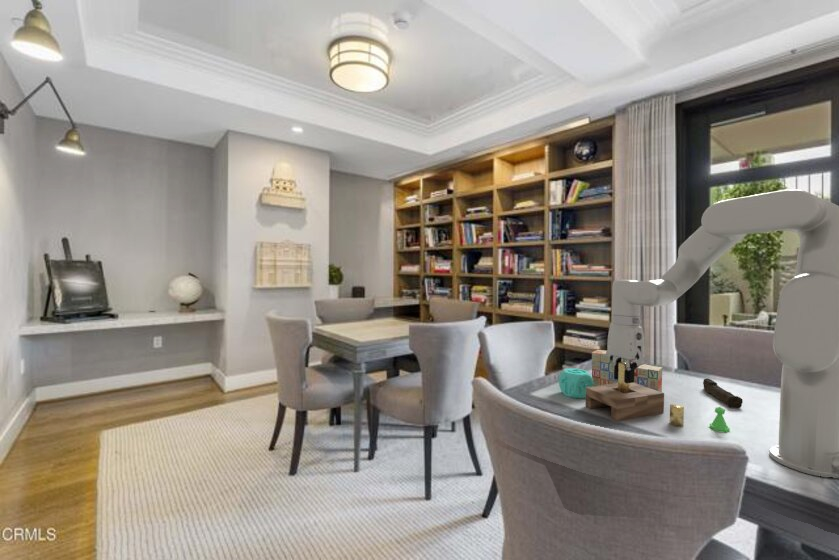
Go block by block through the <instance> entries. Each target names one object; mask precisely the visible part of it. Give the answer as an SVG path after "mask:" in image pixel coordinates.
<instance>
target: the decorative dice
mask: <svg viewBox="0 0 839 560" xmlns="http://www.w3.org/2000/svg"><path fill="white" fill-rule="evenodd" d="M558 386H559V389H560V390H561V392H562V394H563V395H565V396H566V397H569V398H571V399H572V398H573V399H586V387H592V386H595V385H594V382H593V379H592V374H590V372H588V371H587V370H586V369H585V370H584V369H582V368H576V367H575V368H565V369H564V370H562V372H561V373H560V375H559V377H558Z"/></svg>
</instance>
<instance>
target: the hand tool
mask: <svg viewBox="0 0 839 560" xmlns="http://www.w3.org/2000/svg"><path fill="white" fill-rule="evenodd" d="M702 384H703V390H704V392H706V393H707V394H708V395H712V396H714V397H715V398H717V399H718V400H720V401H722V402H723V403H725V404H726V406H727V408H729V409H741V408H742V405H743V403H744V402H743V401H744V400H743V398H741V397H740V396H738V395H734V394H733V393H732V392H729V391H727V390H726V389H724V388H722V387H720V386H719V385H718V383H717V382H716V381H715V380H713V379H710V378H704V379H703V382H702Z"/></svg>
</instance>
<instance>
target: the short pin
mask: <svg viewBox="0 0 839 560" xmlns="http://www.w3.org/2000/svg"><path fill="white" fill-rule="evenodd" d="M684 415H685V407H684V406H683V405H680V404H676V403H675V404H674V403H672V404H670V405H669V424H670V425H672V426H675V427H684V423H685V421H684V419H685V418H684V417H685V416H684Z"/></svg>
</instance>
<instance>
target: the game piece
mask: <svg viewBox="0 0 839 560" xmlns="http://www.w3.org/2000/svg"><path fill="white" fill-rule="evenodd" d="M714 413H716V414H717V415H716V416H715V418H714V419H713V421H712V422H710V423H709V428H710V429H711V430H714V431H716V432H720V433H721V432H722V433H728V432H730V430H731V428H730V427H729V426H728V425H727V422H726V420H725V417H724V415H725V413H726V409H724V408H722V407H721V406H717V407H715V408H714Z"/></svg>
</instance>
